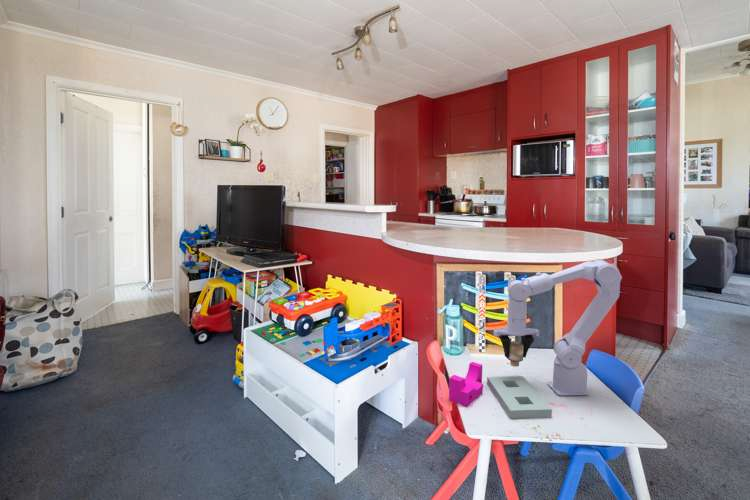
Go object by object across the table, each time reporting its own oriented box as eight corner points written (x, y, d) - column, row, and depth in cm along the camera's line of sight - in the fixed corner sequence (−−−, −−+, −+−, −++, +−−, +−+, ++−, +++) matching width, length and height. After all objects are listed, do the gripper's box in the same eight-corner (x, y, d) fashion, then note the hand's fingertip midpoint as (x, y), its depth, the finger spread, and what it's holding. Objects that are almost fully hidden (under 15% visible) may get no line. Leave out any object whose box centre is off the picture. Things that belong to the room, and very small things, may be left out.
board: (521, 383, 128) (522, 376, 128) (551, 417, 108) (551, 409, 108) (487, 383, 128) (487, 376, 127) (510, 418, 108) (510, 410, 108)
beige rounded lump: (519, 361, 129) (520, 341, 128) (525, 368, 124) (526, 347, 123) (504, 361, 129) (505, 341, 128) (509, 368, 124) (510, 347, 123)
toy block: (467, 407, 114) (467, 384, 113) (448, 400, 118) (449, 377, 117) (488, 388, 125) (489, 366, 124) (471, 382, 129) (472, 361, 128)
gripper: (533, 313, 128) (531, 351, 130) (491, 313, 128) (489, 351, 130) (543, 319, 121) (540, 360, 123) (498, 320, 121) (496, 360, 123)
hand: (515, 356), depth 126 cm, fingers closed on beige rounded lump, 5 cm apart
